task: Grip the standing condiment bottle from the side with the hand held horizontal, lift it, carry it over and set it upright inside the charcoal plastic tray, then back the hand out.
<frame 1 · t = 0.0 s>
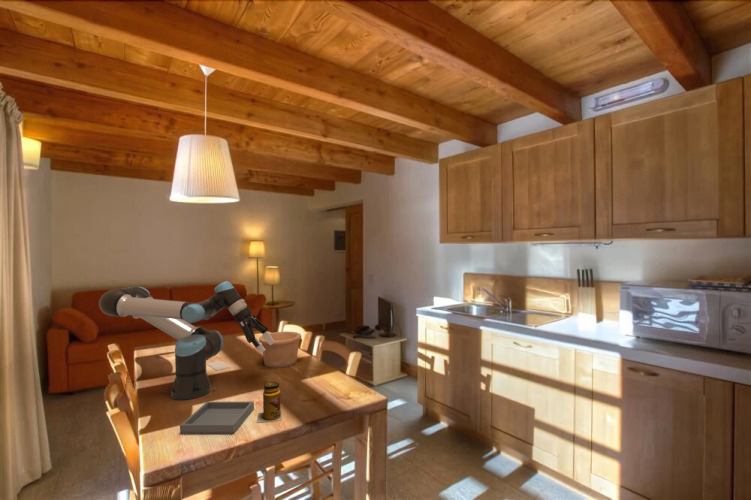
hand: (268, 347, 164), 15 cm above the table, tool tilted 35°, fingers open, 13 cm apart
pottery: (280, 363, 189), on the table
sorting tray: (219, 420, 126), on the table
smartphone: (218, 366, 186), on the table
condiment: (269, 417, 128), on the table
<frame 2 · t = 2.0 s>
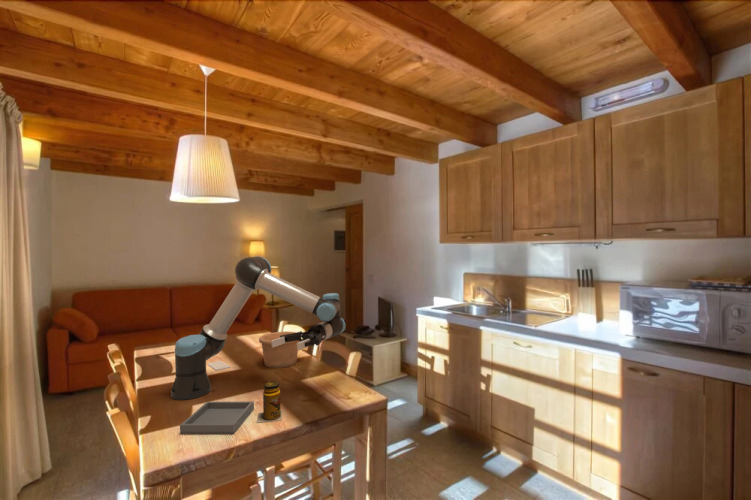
hand: (284, 345, 137), 23 cm above the table, tool horizontal, fingers open, 13 cm apart
nothing on the table moved.
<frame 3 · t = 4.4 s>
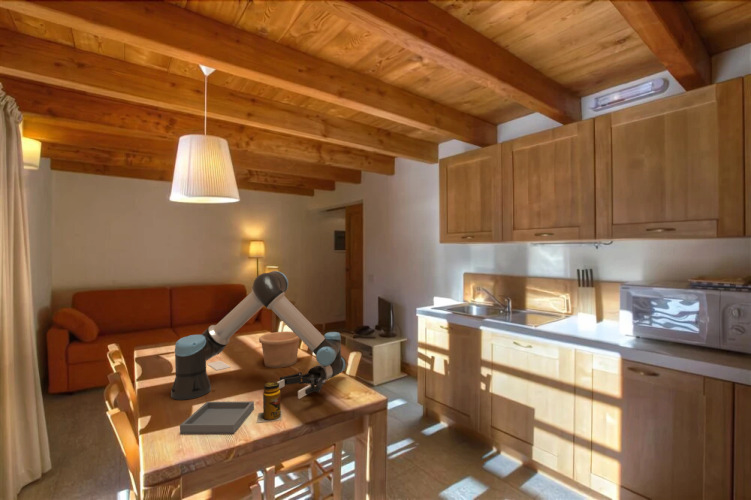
hand: (284, 391, 134), 6 cm above the table, tool horizontal, fingers open, 13 cm apart
nothing on the table moved.
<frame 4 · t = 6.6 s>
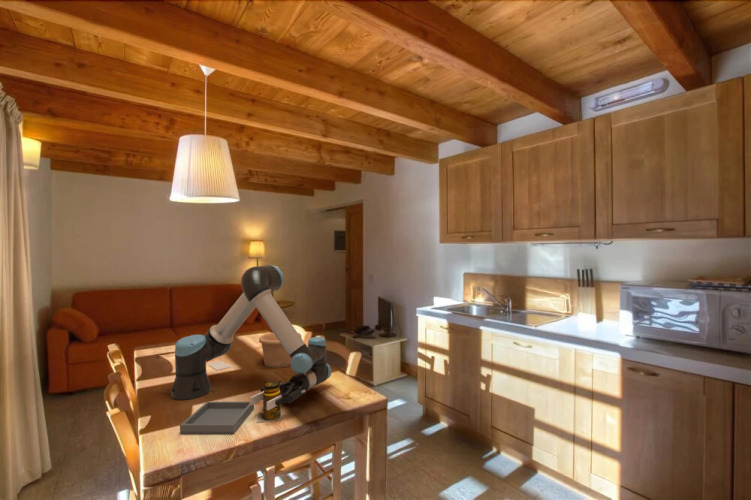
hand: (259, 403, 124), 7 cm above the table, tool horizontal, fingers open, 8 cm apart
condiment: (269, 417, 128), on the table, touching gripper
everything else where it was.
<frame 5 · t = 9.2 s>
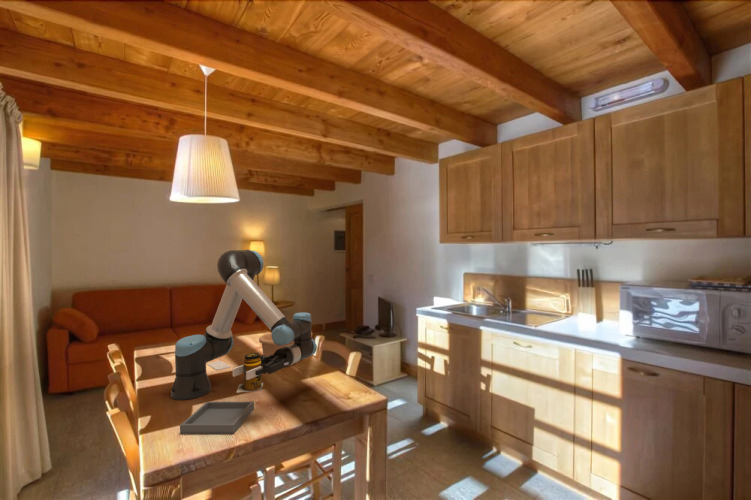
hand: (240, 374, 122), 18 cm above the table, tool horizontal, fingers closed on condiment, 6 cm apart
condiment: (250, 388, 127), point 11 cm above the table, touching gripper
everything else where it was.
when the fingers open (9 cm above the table, at t = 11.8 s): condiment drops 2 cm, resting on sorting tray.
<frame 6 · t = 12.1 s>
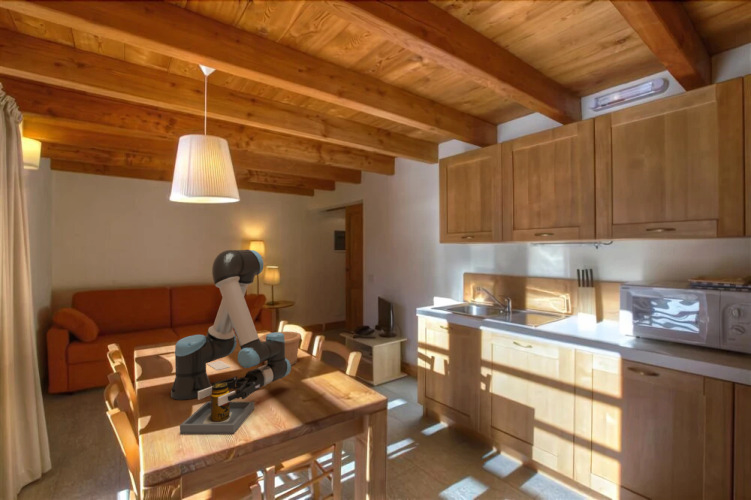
hand: (208, 398, 122), 9 cm above the table, tool horizontal, fingers open, 10 cm apart
condiment: (218, 419, 126), point 1 cm above the table, touching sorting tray
everything else where it was.
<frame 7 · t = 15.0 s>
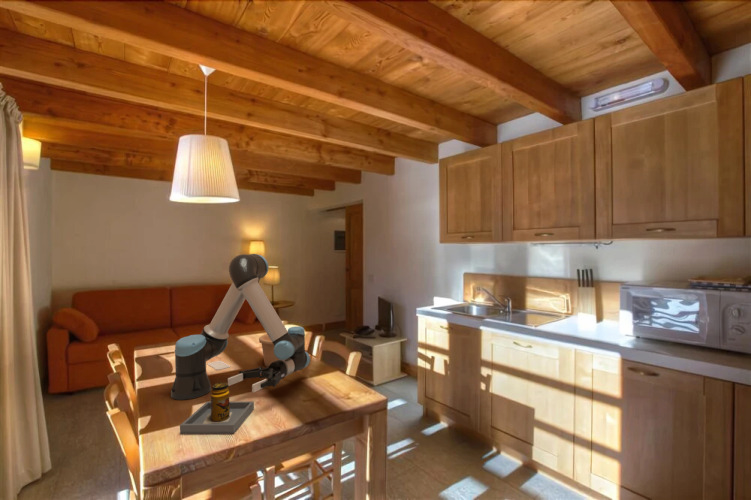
hand: (240, 385, 133), 10 cm above the table, tool horizontal, fingers open, 13 cm apart
nothing on the table moved.
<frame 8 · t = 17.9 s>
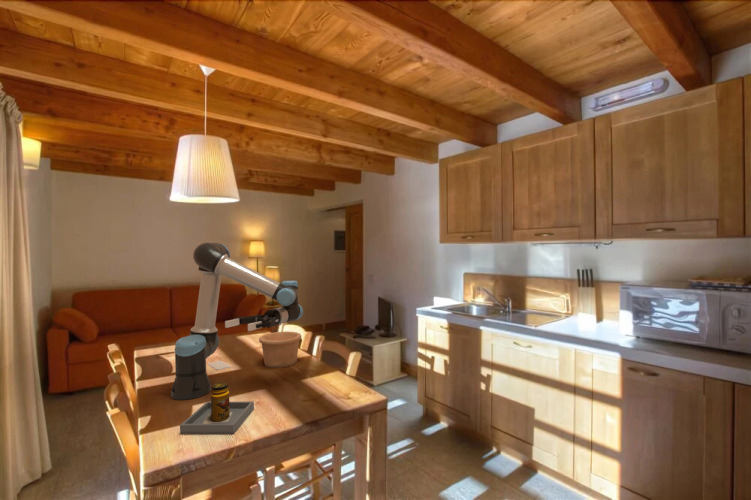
hand: (236, 326, 143), 30 cm above the table, tool horizontal, fingers open, 13 cm apart
nothing on the table moved.
at the end: condiment inside the target area on the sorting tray (0.6 cm from its centre), point 0.6 cm above the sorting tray's base; condiment tilted 0°; the gripper is holding nothing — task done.
